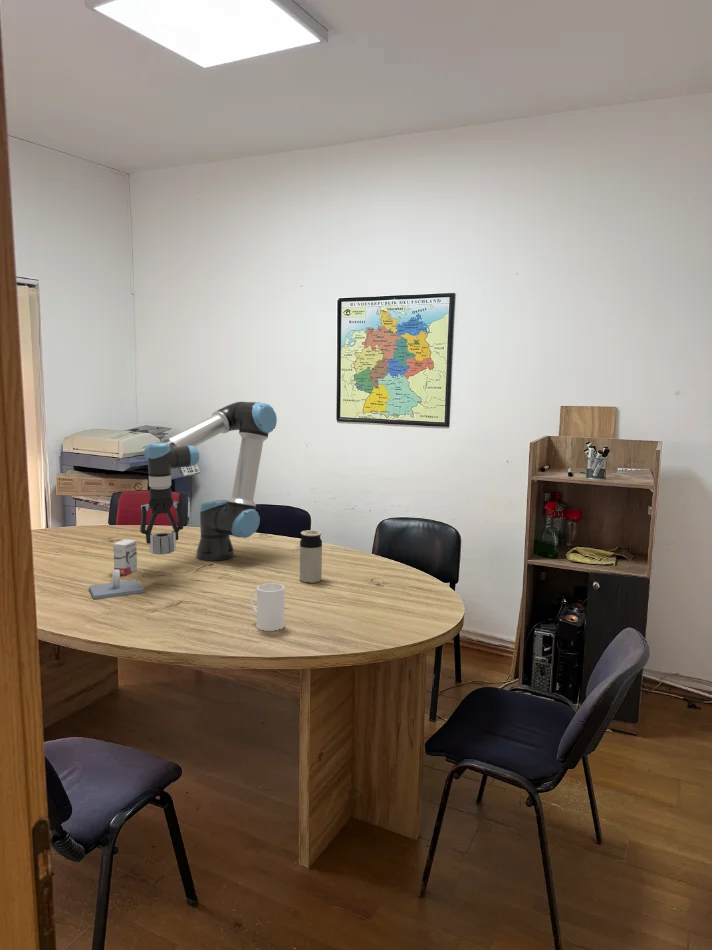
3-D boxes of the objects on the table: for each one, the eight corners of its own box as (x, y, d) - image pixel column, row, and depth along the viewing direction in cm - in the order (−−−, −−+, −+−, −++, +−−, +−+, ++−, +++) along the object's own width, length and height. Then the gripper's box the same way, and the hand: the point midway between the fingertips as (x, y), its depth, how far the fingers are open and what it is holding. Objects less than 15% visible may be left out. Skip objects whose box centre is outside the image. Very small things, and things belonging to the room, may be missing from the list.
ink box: (125, 576, 242) (124, 545, 240) (113, 575, 243) (112, 544, 241) (137, 569, 251) (137, 539, 249) (126, 568, 252) (125, 538, 250)
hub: (170, 547, 238) (169, 531, 238) (175, 552, 232) (175, 536, 231) (150, 550, 235) (149, 534, 234) (154, 555, 229) (154, 538, 228)
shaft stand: (137, 582, 234) (136, 563, 233) (144, 592, 224) (143, 572, 223) (89, 589, 227) (88, 568, 226) (94, 599, 216) (93, 578, 215)
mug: (242, 624, 197) (242, 585, 196) (261, 616, 204) (261, 579, 202) (271, 633, 191) (272, 593, 189) (290, 625, 198) (291, 586, 196)
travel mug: (325, 578, 244) (325, 531, 241) (314, 584, 237) (315, 536, 234) (306, 575, 247) (306, 529, 245) (295, 581, 240) (296, 533, 237)
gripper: (185, 483, 238) (188, 544, 242) (128, 487, 228) (131, 551, 232) (191, 486, 232) (193, 549, 235) (132, 491, 222) (135, 557, 225)
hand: (162, 550), depth 234 cm, fingers closed on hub, 7 cm apart
